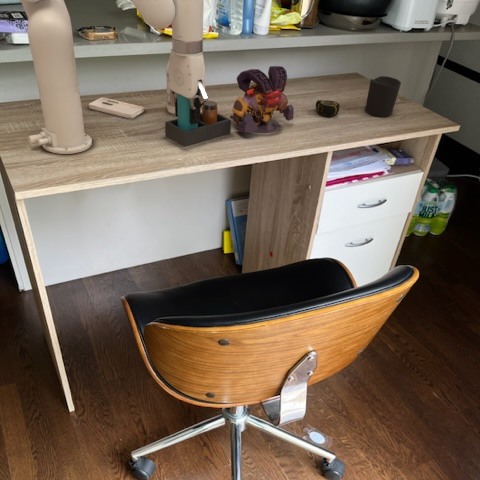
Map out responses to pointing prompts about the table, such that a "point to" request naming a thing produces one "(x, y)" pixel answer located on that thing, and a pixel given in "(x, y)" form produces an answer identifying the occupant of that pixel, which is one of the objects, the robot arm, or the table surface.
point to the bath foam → (170, 95)
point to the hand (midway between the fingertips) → (187, 118)
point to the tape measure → (327, 107)
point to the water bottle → (184, 113)
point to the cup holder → (197, 131)
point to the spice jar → (209, 112)
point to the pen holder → (382, 96)
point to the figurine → (261, 100)
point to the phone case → (116, 108)
